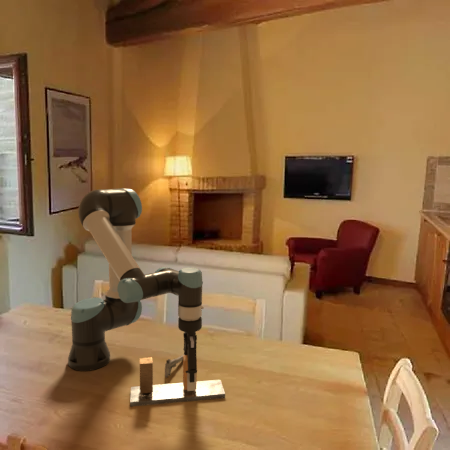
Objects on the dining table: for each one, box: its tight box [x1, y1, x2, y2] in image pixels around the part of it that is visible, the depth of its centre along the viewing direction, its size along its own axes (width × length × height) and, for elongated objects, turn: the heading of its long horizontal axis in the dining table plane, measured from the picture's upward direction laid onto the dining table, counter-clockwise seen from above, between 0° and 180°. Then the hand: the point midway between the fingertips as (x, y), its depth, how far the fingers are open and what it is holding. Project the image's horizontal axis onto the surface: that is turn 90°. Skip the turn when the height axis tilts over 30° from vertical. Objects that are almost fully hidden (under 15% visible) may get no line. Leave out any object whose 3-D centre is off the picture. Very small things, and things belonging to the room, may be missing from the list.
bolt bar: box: [129, 356, 226, 408], centre depth 138 cm, size 9×30×13 cm, turn 101°
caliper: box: [164, 353, 184, 378], centre depth 158 cm, size 20×1×6 cm, turn 160°
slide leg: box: [182, 354, 198, 390], centre depth 138 cm, size 4×4×11 cm
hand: (189, 381), depth 139 cm, fingers open, 9 cm apart
